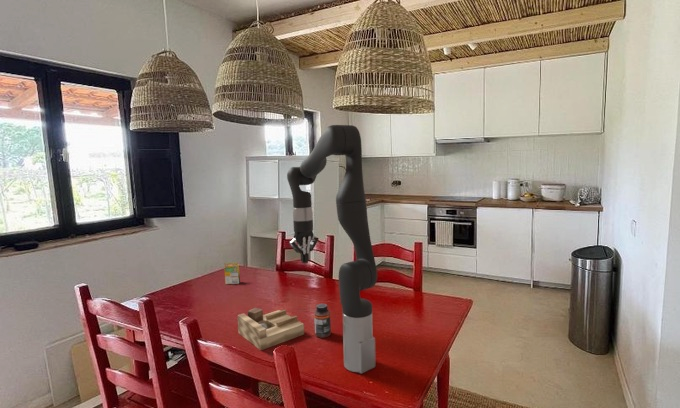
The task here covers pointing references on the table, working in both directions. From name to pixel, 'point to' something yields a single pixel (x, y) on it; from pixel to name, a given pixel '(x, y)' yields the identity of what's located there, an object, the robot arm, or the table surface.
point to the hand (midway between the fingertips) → (305, 262)
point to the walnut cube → (256, 314)
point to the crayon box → (232, 273)
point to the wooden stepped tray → (270, 329)
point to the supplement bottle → (322, 321)
